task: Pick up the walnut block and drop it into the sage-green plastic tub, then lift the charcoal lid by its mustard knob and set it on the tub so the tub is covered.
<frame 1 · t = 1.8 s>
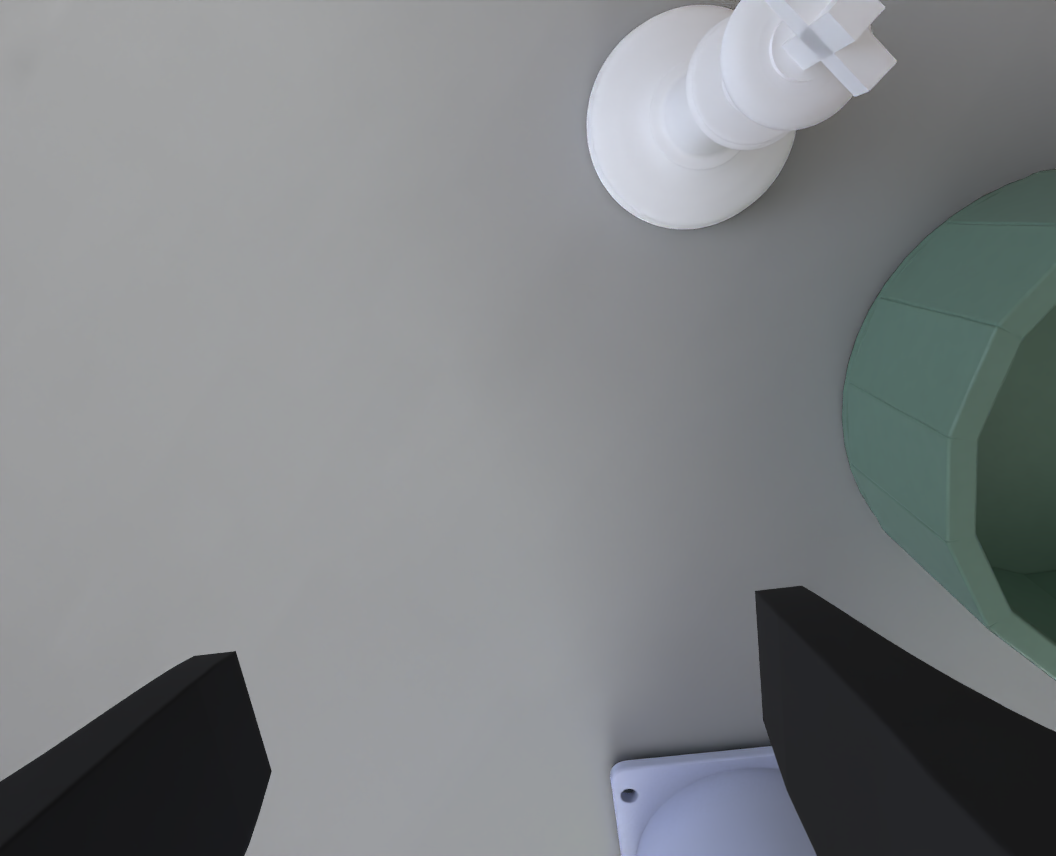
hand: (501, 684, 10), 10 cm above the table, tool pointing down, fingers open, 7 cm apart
chess piece: (687, 124, 18), on the table
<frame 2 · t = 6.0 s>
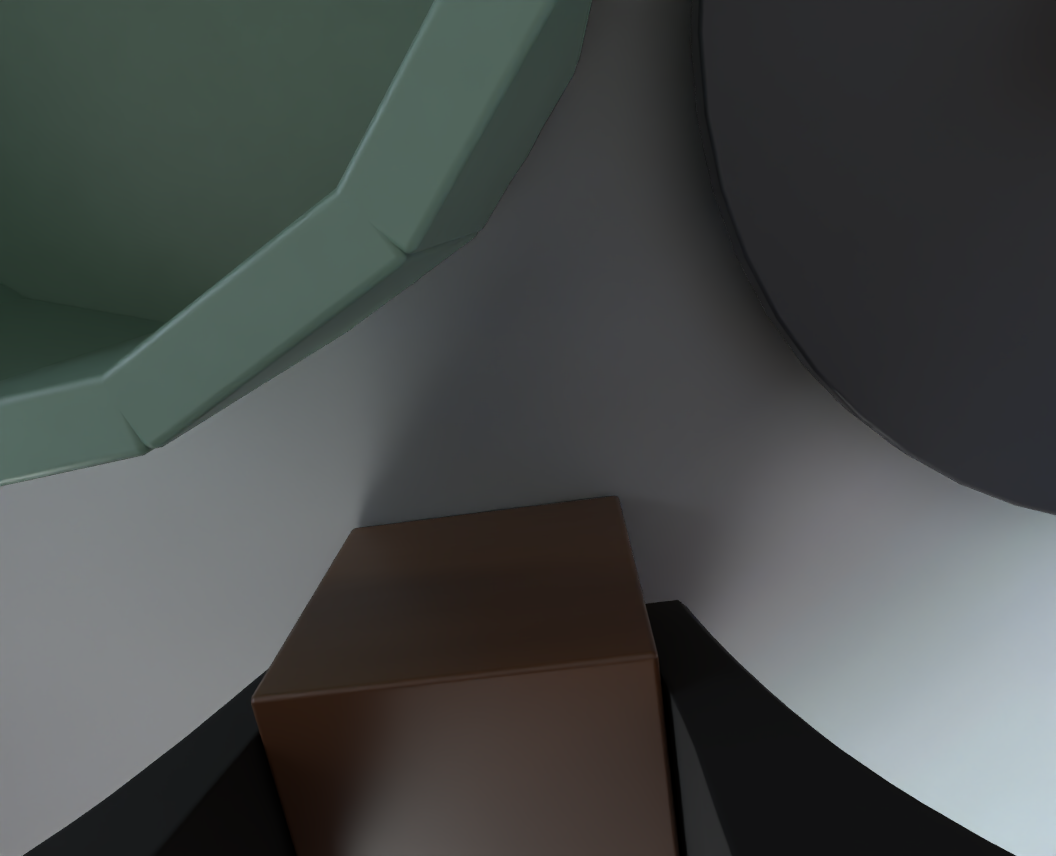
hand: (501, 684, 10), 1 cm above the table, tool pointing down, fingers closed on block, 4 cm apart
block: (504, 628, 11), on the table, touching gripper
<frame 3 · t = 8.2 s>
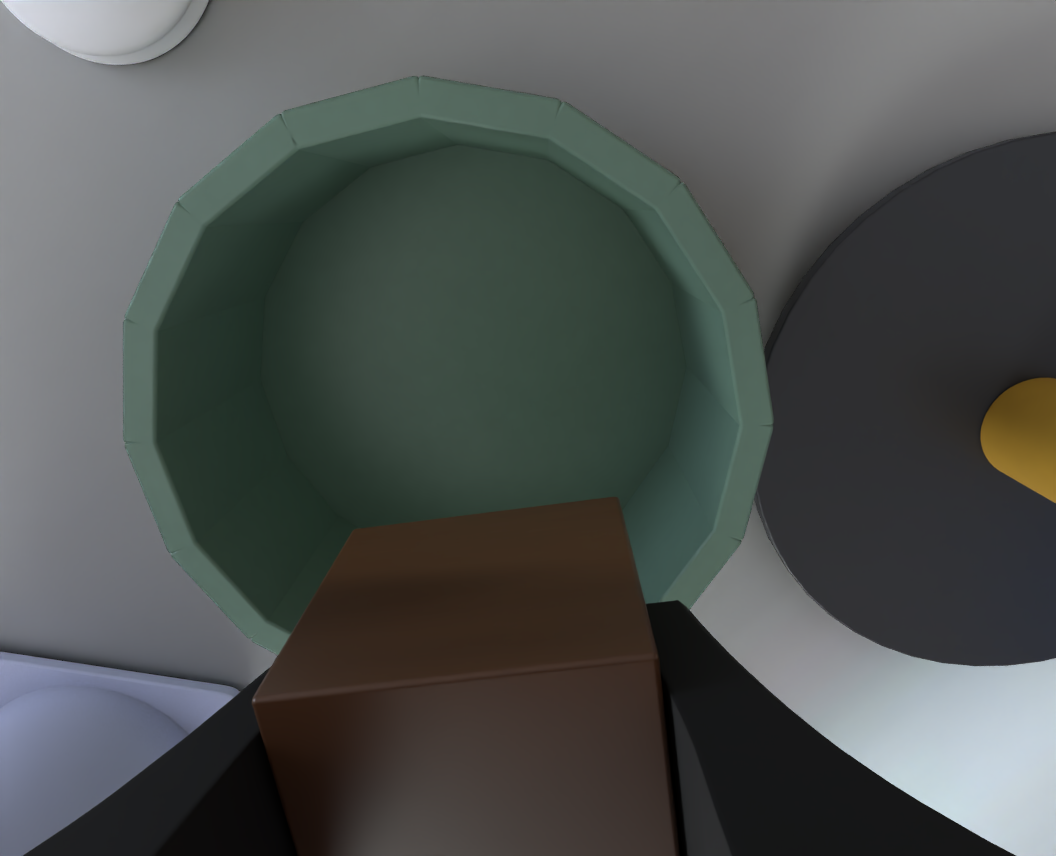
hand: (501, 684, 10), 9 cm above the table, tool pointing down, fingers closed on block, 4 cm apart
tub: (473, 368, 18), on the table
lid: (1018, 421, 17), point 1 cm above the table
block: (504, 628, 11), point 7 cm above the table, touching gripper
when the fingers open (3 cm above the table, at t = 10.6 s): block drops 1 cm, resting on tub.
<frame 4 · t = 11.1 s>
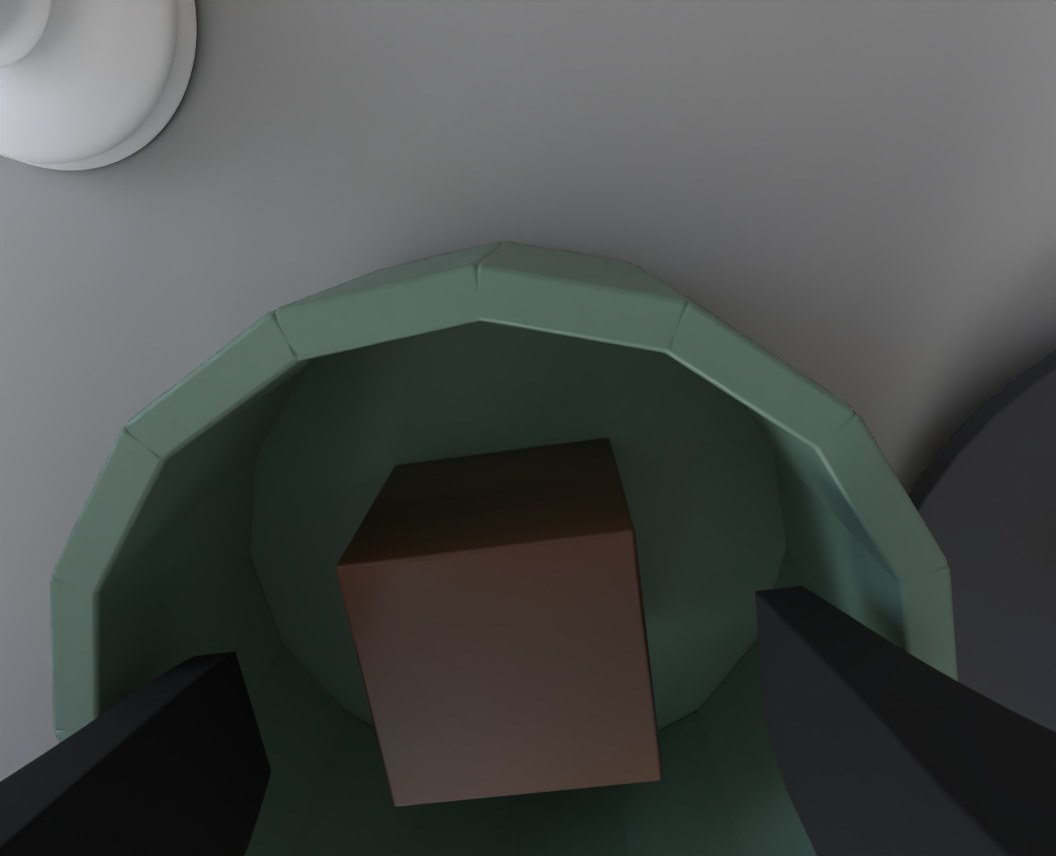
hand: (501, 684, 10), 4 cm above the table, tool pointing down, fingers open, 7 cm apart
chess piece: (53, 11, 12), on the table
tub: (515, 540, 14), on the table
block: (517, 549, 14), resting on tub
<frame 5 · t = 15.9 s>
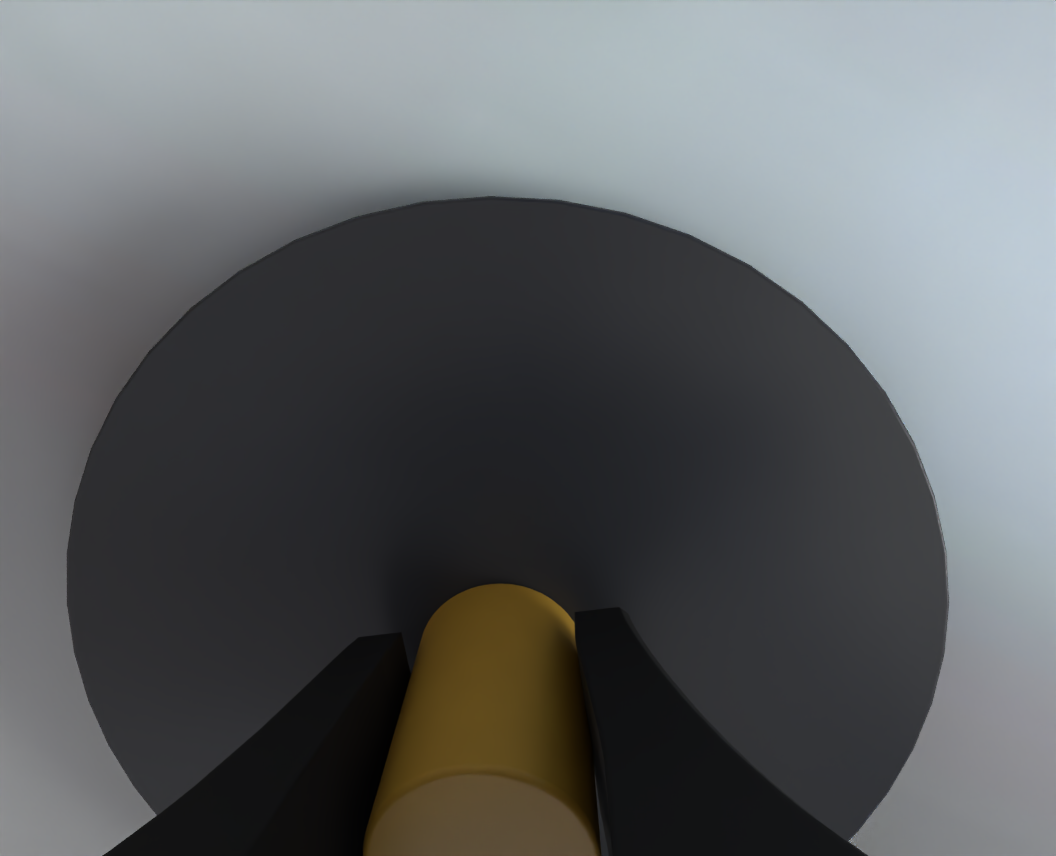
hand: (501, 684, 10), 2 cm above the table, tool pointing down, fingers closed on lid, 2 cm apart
lid: (504, 635, 11), point 1 cm above the table, touching gripper
when the fingers open (7 cm above the table, at t = 19.4 s): lid stays where it is, resting on tub.
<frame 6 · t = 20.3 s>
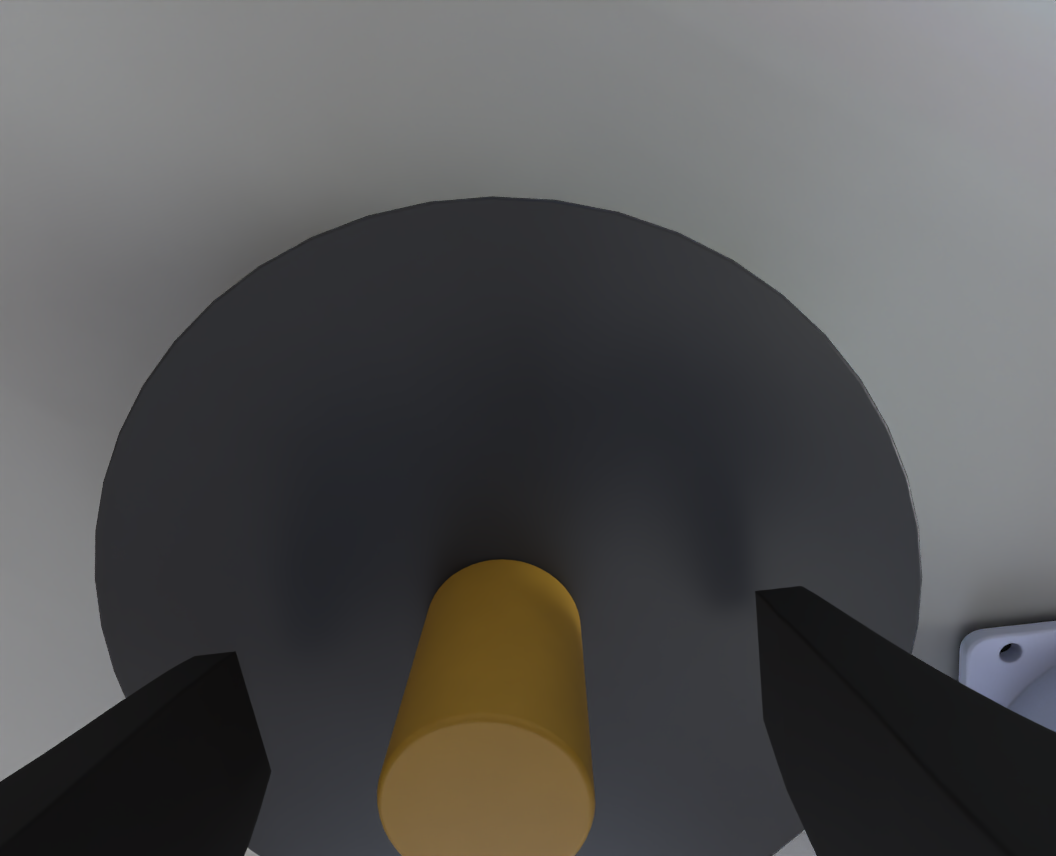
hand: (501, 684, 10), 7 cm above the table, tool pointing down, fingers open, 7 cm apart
lid: (505, 609, 12), point 5 cm above the table, touching tub
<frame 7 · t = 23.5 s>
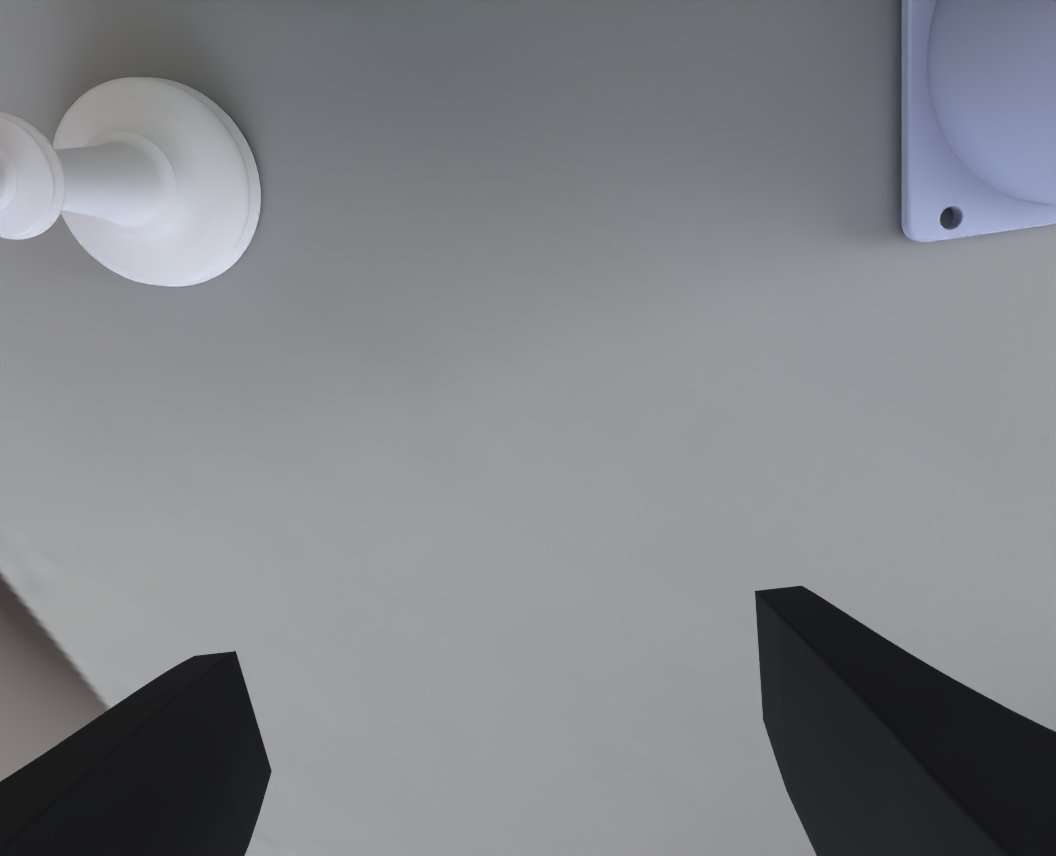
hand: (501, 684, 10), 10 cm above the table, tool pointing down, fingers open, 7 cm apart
chess piece: (167, 186, 18), on the table
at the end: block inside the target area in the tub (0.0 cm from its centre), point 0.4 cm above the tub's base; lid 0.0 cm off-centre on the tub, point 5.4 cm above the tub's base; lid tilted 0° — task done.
